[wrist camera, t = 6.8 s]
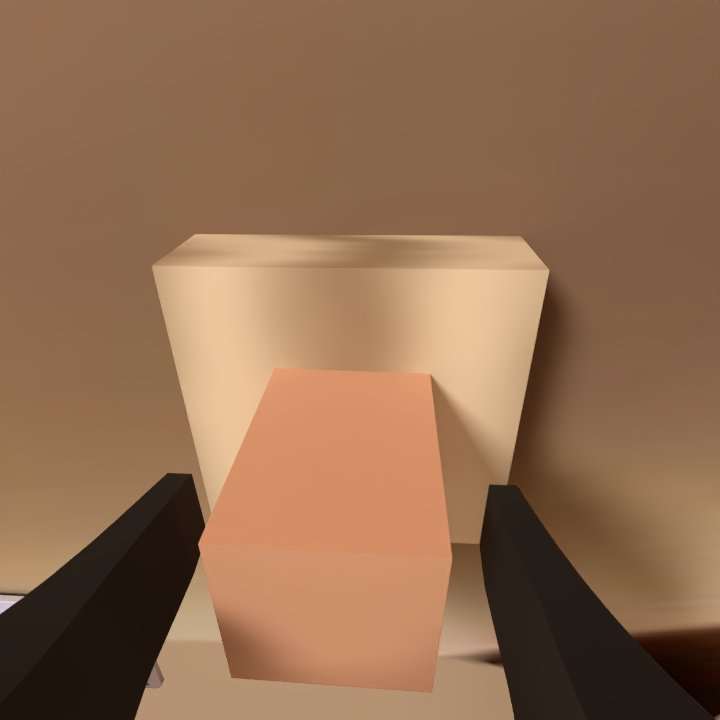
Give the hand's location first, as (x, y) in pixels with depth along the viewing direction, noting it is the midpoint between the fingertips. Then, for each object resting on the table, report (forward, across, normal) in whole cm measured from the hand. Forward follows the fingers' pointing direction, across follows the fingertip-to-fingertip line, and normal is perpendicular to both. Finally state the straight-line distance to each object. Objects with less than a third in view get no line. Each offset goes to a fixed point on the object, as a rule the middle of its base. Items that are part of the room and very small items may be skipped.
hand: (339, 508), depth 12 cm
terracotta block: (+3, 0, 0) cm, 3 cm away
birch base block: (+7, 0, 0) cm, 7 cm away
